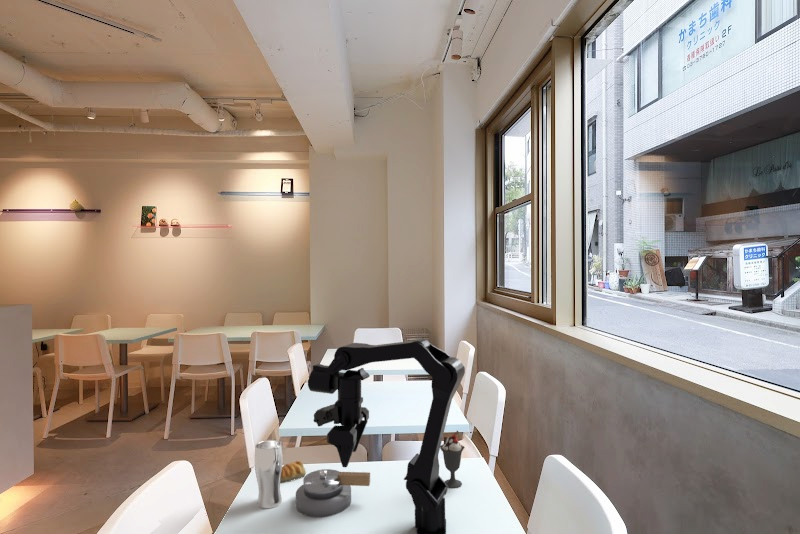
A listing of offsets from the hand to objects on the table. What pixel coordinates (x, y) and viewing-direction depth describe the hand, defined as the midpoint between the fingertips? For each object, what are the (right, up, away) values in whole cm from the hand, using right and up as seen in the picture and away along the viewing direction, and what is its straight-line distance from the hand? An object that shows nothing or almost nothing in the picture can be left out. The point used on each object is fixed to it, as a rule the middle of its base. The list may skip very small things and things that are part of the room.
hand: (349, 458), depth 115 cm
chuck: (-4, -10, +5) cm, 11 cm away
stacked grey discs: (-7, -13, +5) cm, 16 cm away
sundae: (+27, -13, +13) cm, 33 cm away
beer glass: (-21, -14, +5) cm, 26 cm away
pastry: (-19, -14, +20) cm, 31 cm away
